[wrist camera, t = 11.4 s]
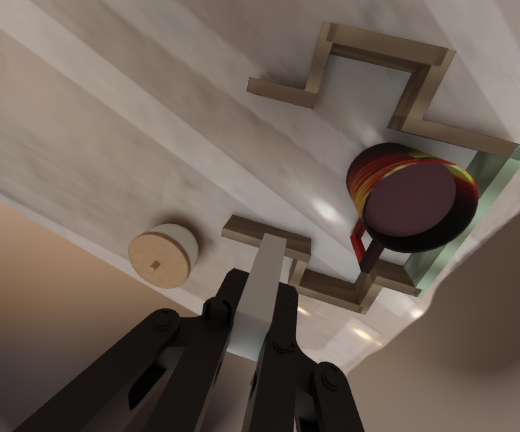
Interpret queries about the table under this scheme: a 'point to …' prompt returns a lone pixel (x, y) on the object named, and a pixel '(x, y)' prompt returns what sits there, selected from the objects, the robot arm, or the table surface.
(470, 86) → the table surface
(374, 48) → the trap lane
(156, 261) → the lidded jar
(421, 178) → the mug
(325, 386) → the robot arm
